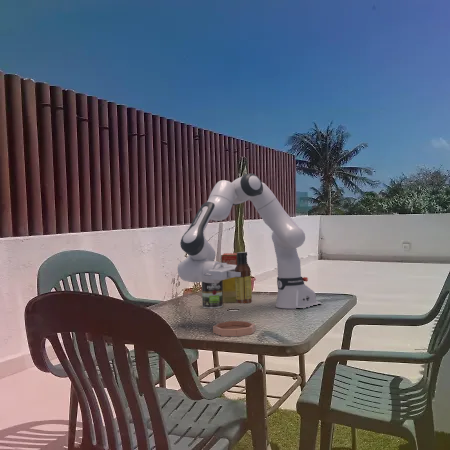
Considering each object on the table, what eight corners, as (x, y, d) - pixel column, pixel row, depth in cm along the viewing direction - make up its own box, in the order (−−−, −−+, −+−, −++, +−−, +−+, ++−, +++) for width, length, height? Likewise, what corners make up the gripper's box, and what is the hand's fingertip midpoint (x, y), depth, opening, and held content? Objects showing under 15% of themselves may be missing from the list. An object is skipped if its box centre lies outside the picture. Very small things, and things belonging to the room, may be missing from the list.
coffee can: (225, 307, 237) (224, 278, 237) (204, 309, 234) (203, 280, 234) (220, 304, 247) (218, 276, 247) (200, 306, 244) (199, 278, 244)
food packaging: (239, 303, 249) (237, 254, 249) (221, 303, 250) (219, 255, 250) (241, 298, 262) (240, 252, 262) (224, 299, 263) (222, 253, 263)
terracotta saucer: (241, 325, 194) (241, 319, 194) (261, 332, 181) (261, 325, 181) (208, 330, 187) (207, 324, 187) (226, 338, 174) (226, 331, 174)
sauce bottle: (251, 301, 192) (250, 251, 192) (252, 304, 186) (252, 252, 186) (234, 301, 192) (234, 251, 192) (235, 304, 186) (235, 252, 186)
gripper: (201, 266, 186) (233, 267, 179) (225, 262, 204) (255, 263, 198) (201, 283, 186) (233, 284, 179) (225, 277, 204) (255, 278, 198)
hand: (245, 273), depth 189 cm, fingers closed on sauce bottle, 6 cm apart
